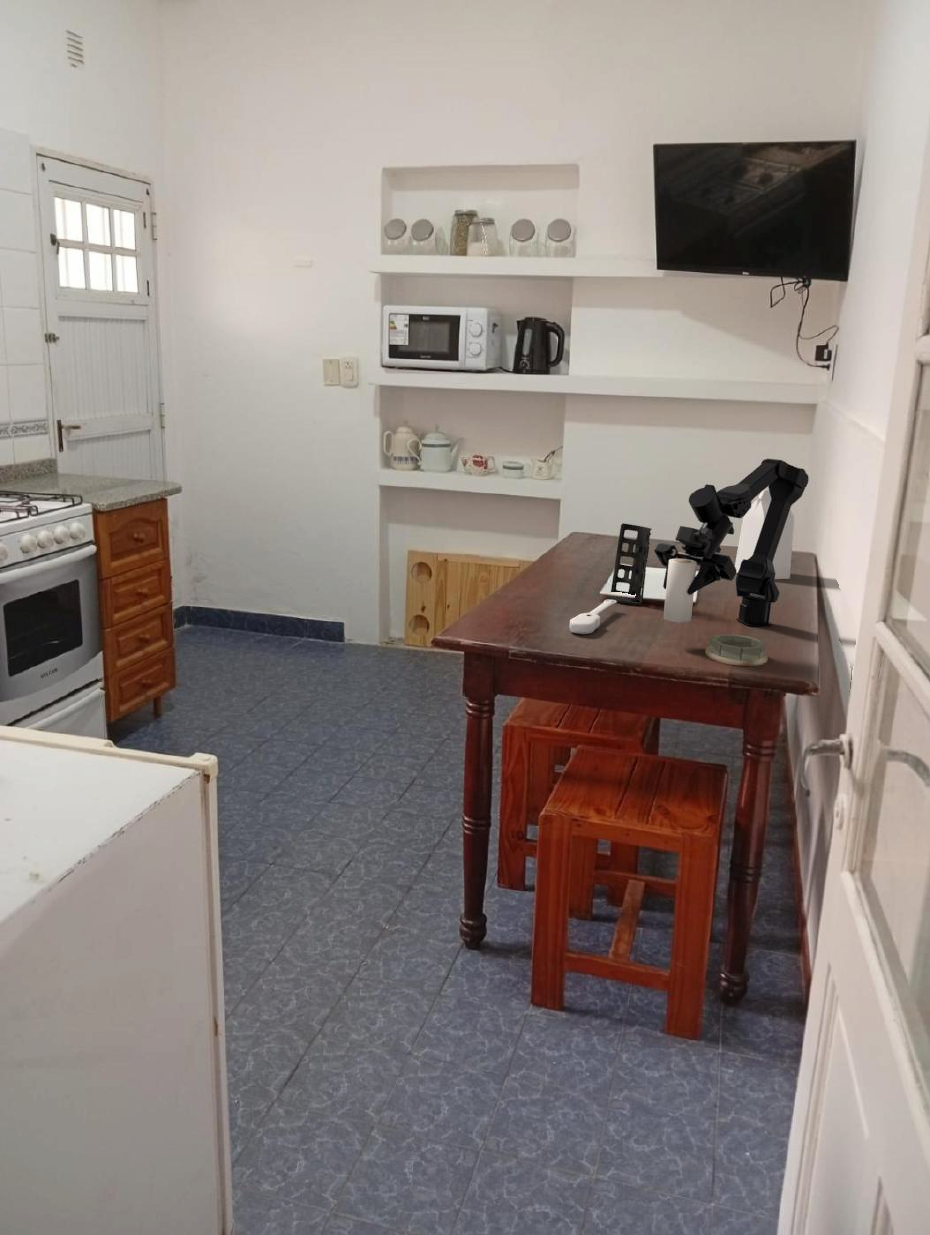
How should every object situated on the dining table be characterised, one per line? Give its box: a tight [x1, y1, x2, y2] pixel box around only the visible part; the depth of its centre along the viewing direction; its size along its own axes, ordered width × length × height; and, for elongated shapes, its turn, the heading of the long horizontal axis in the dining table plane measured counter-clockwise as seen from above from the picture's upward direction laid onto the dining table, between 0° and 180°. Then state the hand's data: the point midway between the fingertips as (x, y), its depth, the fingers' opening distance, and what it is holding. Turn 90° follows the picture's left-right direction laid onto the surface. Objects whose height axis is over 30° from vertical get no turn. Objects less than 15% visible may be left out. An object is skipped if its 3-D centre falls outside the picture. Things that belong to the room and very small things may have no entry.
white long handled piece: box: [569, 598, 618, 635], centre depth 237 cm, size 28×6×3 cm, turn 156°
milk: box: [734, 488, 795, 580], centre depth 299 cm, size 12×12×26 cm
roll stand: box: [704, 633, 769, 667], centre depth 213 cm, size 13×13×4 cm
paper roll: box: [662, 559, 698, 623], centre depth 218 cm, size 6×6×13 cm
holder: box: [609, 523, 652, 607], centre depth 258 cm, size 11×8×20 cm
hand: (676, 590), depth 217 cm, fingers closed on paper roll, 6 cm apart
